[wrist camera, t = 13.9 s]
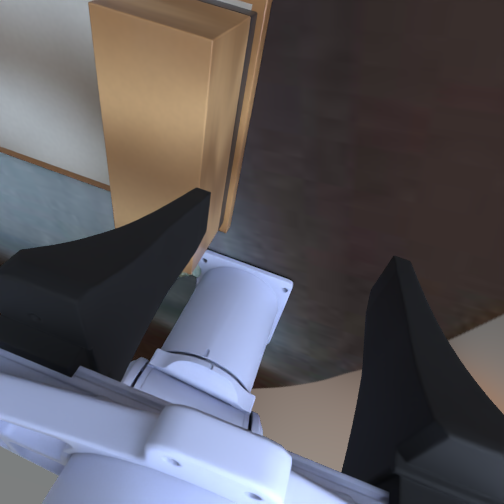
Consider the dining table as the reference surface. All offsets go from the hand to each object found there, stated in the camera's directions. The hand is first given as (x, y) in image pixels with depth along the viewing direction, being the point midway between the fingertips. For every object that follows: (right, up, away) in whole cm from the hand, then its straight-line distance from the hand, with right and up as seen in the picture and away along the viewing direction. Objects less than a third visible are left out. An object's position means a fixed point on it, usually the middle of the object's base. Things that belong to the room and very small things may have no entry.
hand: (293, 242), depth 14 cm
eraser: (-5, +7, +8) cm, 11 cm away
